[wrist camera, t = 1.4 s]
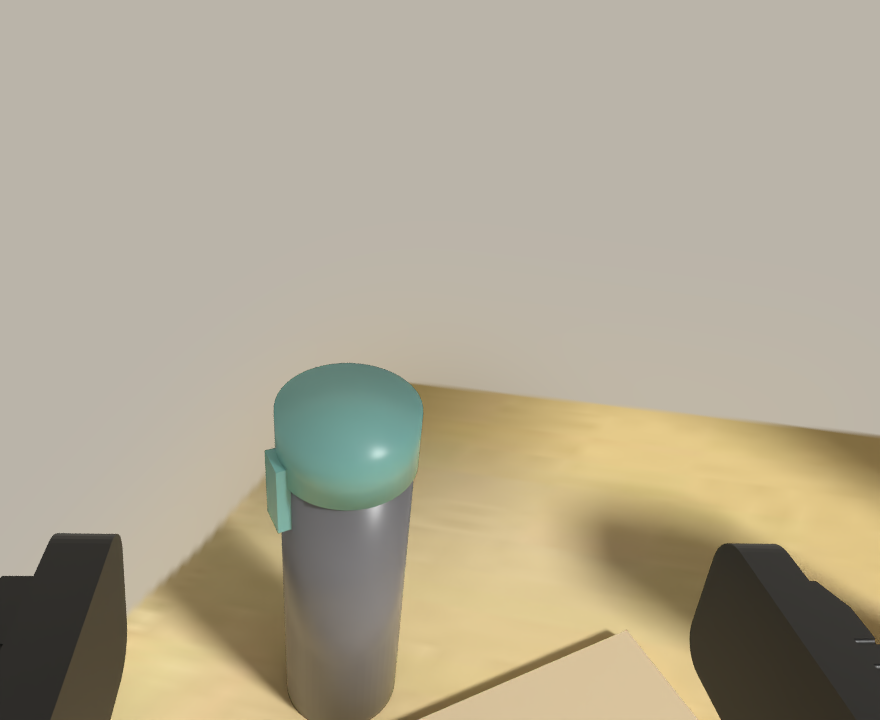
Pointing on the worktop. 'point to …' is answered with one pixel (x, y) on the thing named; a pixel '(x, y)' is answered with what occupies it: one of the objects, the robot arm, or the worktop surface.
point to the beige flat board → (580, 689)
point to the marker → (343, 531)
